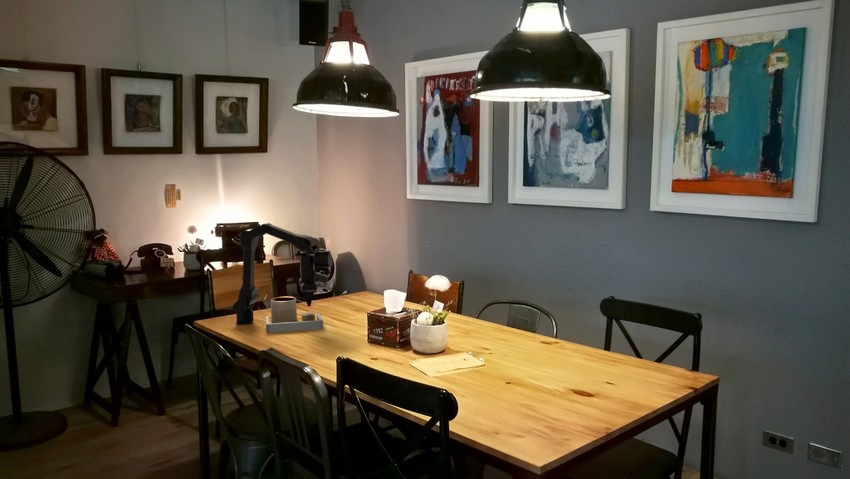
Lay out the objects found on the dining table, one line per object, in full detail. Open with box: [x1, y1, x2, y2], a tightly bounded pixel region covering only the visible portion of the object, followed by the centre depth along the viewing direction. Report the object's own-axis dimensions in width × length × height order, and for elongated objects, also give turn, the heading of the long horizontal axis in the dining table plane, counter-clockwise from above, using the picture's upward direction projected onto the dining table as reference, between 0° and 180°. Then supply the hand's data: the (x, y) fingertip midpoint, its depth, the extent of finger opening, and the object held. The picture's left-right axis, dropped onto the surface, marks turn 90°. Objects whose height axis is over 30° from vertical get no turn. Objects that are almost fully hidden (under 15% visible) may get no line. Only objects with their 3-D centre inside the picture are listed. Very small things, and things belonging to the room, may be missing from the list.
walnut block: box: [301, 311, 316, 321], centre depth 281 cm, size 5×5×5 cm
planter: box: [270, 296, 298, 323], centre depth 289 cm, size 11×11×10 cm
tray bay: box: [265, 312, 324, 334], centre depth 279 cm, size 22×14×4 cm, turn 104°
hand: (308, 304), depth 280 cm, fingers open, 9 cm apart
